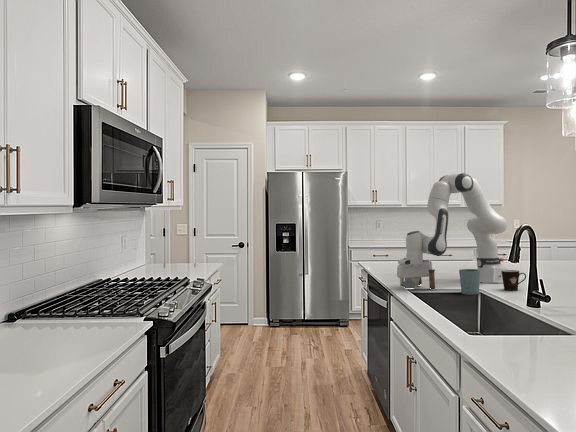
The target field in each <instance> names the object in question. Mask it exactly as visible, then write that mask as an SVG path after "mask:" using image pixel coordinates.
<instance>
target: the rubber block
mask: <svg viewBox="0 0 576 432" xmlns="http://www.w3.org/2000/svg"><path fill="white" fill-rule="evenodd" d="M402 287H405V288H415V286H414V282H412V281H406V282H405V281H404V282H403V286H402Z"/></svg>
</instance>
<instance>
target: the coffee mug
mask: <svg viewBox="0 0 576 432" xmlns="http://www.w3.org/2000/svg"><path fill="white" fill-rule="evenodd" d="M501 272H502V278H503V283H502V284H503V285H502V286H503V291H509V292H516V291H518V290H519V284H521V283H522V282H524V281H525V280H526V279H527V274H526V273H525V272H520V270H516V269H508V270H502V271H501ZM520 275H524V278H523V279H522V280H520V278H519V277H520Z"/></svg>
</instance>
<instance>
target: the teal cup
mask: <svg viewBox="0 0 576 432" xmlns="http://www.w3.org/2000/svg"><path fill="white" fill-rule="evenodd" d="M458 272H459V283H460V292H461V294H463V295H469V296H470V295H471V296H472V295H474V296H475V295H479V294H480V283H481V282H480V270H478V268H477V269H476V268H463V269H461V268H460V269H459V270H458Z"/></svg>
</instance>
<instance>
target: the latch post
mask: <svg viewBox="0 0 576 432" xmlns="http://www.w3.org/2000/svg"><path fill="white" fill-rule="evenodd" d="M428 271H429V277H428V279H429V280H428V282H429V289H430V288H431V289H435V290H436V284H435V283H436V282H435V281H436V280H435V272H436V269H434V268H432V269H429V270H428Z"/></svg>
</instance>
